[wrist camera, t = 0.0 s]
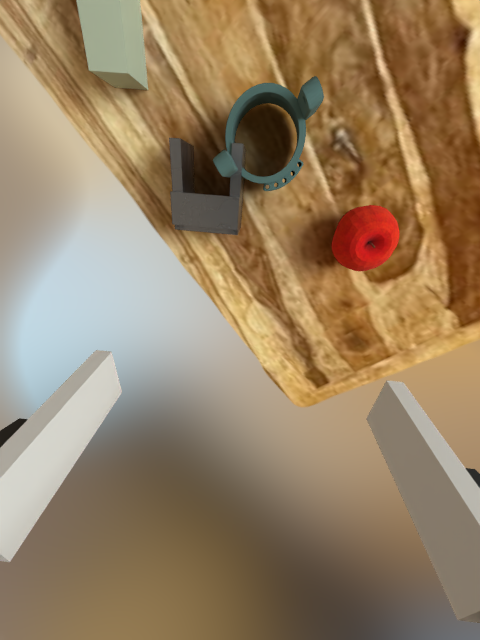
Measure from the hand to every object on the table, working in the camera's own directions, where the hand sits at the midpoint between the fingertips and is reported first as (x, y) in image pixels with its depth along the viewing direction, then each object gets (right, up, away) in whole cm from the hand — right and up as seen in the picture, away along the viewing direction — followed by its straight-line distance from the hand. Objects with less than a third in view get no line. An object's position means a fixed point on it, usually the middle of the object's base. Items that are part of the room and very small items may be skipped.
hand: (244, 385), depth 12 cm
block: (-13, +35, +14) cm, 39 cm away
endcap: (-4, +22, +20) cm, 30 cm away
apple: (+16, +16, +22) cm, 32 cm away
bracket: (+3, +25, +18) cm, 30 cm away
